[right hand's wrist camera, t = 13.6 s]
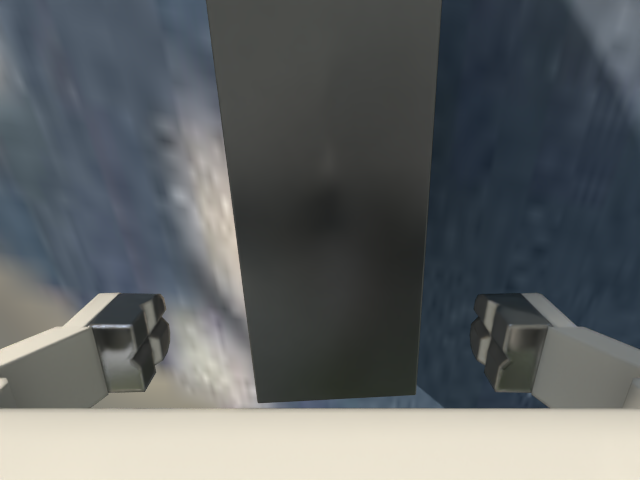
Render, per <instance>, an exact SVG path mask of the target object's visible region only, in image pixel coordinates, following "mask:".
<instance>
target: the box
mask: <svg viewBox="0 0 640 480" xmlns="http://www.w3.org/2000/svg"><path fill="white" fill-rule="evenodd" d="M206 4H207V12H208V20H209V28H210V36H211V43H212V51H213V59H214V67H215V75H216V82H217V90H218V98H219V106H220V113H221V121H222V129H223V137H224V145H225V152H226V160H227V168H228V176H229V184H230V191H231V199H232V207H233V215H234V223H235V230H236V238H237V246H238V254H239V261H240V269H241V277H242V285H243V293H244V300H245V308H246V316H247V324H248V332H249V339H250V347H251V355H252V363H253V371H254V378H255V386H256V394H257V402H258V403H271V402H290V401H309V400H328V399H347V398H366V397H385V396H404V395H416V385H417V370H418V355H419V340H420V325H421V309H422V294H423V279H424V264H425V249H426V234H427V219H428V204H429V189H430V174H431V159H432V144H433V129H434V114H435V99H436V84H437V69H438V54H439V39H440V24H441V9H442V0H206Z"/></svg>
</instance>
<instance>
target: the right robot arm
mask: <svg viewBox="0 0 640 480" xmlns="http://www.w3.org/2000/svg"><path fill="white" fill-rule="evenodd" d="M165 311H166V305H165V300H164V297H163V296H162V295H161V294H137V293H102V294H98V295H97V296H96V297H95V298H94V299H93V300H91V301H90V302H89V303H88V304H87V305H86V306H85V307H84V308H83V309H82V310H80V311H79V312H78V313H77V314H76V315H75V316H74V317H73V318H72V319H71V320H69V321H68V322H67V323H66V324H65V325H64V326H63V327H54V328H52V329H50V330H47V331H45V332H42V333H40V334H37V335H35V336H32V337H30V338H27V339H25V340H22V341H20V342H17V343H15V344H12V345H10V346H7V347H5V348H2V349H0V480H640V349H637V348H635V347H632V346H630V345H628V344H625V343H623V342H620V341H618V340H615V339H613V338H610V337H608V336H605V335H603V334H600V333H598V332H595V331H593V330H591V329H588V328H586V327H577V326H576V325H575V324H574V323H573V322H572V321H571V320H569V319H568V318H567V317H566V316H565V315H564V314H563V313H562V312H561V311H560V310H558V309H557V308H556V307H555V306H554V305H553V304H552V303H551V302H550V301H549V300H548V299H546V298H545V297H544V296H543V295H542V294H539V293H507V294H480V295H478V296H477V298H476V300H475V305H474V311H475V312H476V314H477V315H478V318H477V319H476V320H475V321H474V322H473V323H472V324H471V329H470V344H471V348H472V352H473V354H474V356H475V358H476V360H477V361H479V362H480V363H482V364H484V365H485V369H484V373H485V375H486V377H487V379H488V380H489V382H490V384H491V385H492V387H493V389H494V390H495V392H521V393H532V395H533V396H534V397H536V398H537V399H538V400H540V401H541V402H542V403H544V404H545V405H546V406H548V407H549V408H91V407H92V406H94V405H95V404H96V403H98V402H99V401H100V400H102V399H103V398H104V397H106V396H107V395H108V393H119V392H145V390H146V389H147V387H148V385H149V384H150V382H151V380H152V379H153V377H154V375H155V373H156V369H155V365H156V364H158V363H160V362H161V361H163V360H164V358H165V356H166V354H167V352H168V348H169V344H170V328H169V324H168V323H167V322H166V321H165V320H164V319H163V318H162V315H163V314H164V312H165Z"/></svg>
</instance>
